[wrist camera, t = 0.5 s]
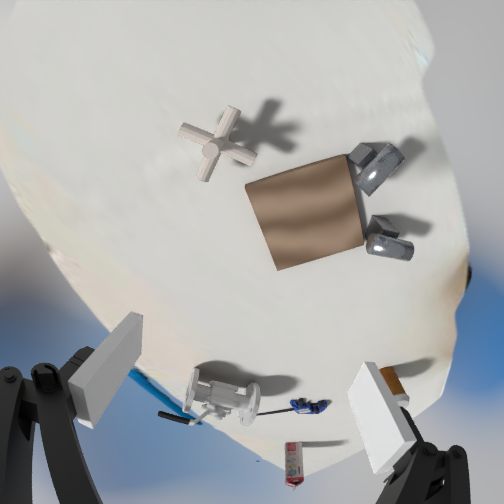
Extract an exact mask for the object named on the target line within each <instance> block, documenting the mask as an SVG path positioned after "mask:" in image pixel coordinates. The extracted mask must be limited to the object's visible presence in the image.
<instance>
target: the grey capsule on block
mask: <svg viewBox="0 0 504 504" xmlns="http://www.w3.org/2000/svg"><path fill="white" fill-rule="evenodd" d="M347 157H348V158H349V159H350V160H351V161H352V162H353V163H354V164H355V165H356V166H357V167H358V169H359V170H360V171H361V172H360V173H359V174H358V175H357V176H356V177H355V178H354V179H353V181H354V182H355V183H356V184H357V185H358V186H359V187H360V188H361V189H362V190H363V191H364V192H365V193H366V194H367V195H368V196H370V195H371V194H372V193H373V192H374V191H375V190H376V189H377V188H378V187H379V186H380V185H381V184H382V183H383V182H384V181H385V180H386V179H387V178H388V177H389V176H390V175H391V174H392V173H393V172H394V171H395V170H396V169H397V168H398V167H399V166H400V165H401V164H402V163H403V162H404V161H405V158H404V157H403V155H402V154H401V153H400V152H399V150H398V149H397V148H395V147H394V146H393V145H392V144H390V143H388V144H387V145H386V146H385V147H384V149H383V150H382V151H381V152H380V153H379V154H377V153H376V152H375V150H374V149H372V148H370V147H368V146H366V145H364V144H362V143H360V144H359V145H358V146H357V147H356V148H355V149H354V150H353V151H352V152H351V153H350V154H349V155H348V156H347Z"/></svg>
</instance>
